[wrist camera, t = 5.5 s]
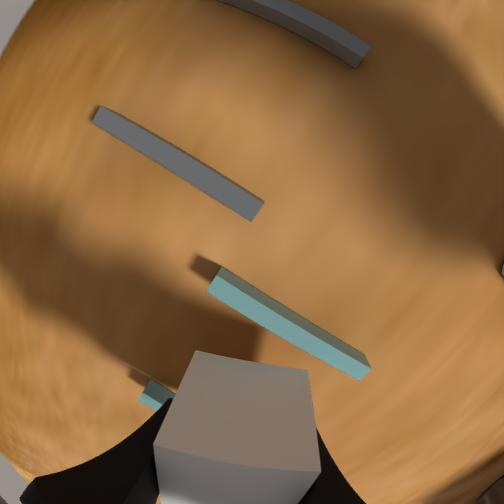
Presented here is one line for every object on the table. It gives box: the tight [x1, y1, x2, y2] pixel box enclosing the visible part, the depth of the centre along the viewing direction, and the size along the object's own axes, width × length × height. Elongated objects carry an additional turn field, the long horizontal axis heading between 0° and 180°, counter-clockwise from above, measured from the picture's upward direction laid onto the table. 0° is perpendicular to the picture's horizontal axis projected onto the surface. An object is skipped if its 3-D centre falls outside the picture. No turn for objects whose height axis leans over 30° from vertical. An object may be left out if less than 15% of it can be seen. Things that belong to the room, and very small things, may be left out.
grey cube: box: [153, 350, 321, 504], centre depth 9 cm, size 4×5×5 cm
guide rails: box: [92, 0, 371, 411], centre depth 11 cm, size 16×20×1 cm
